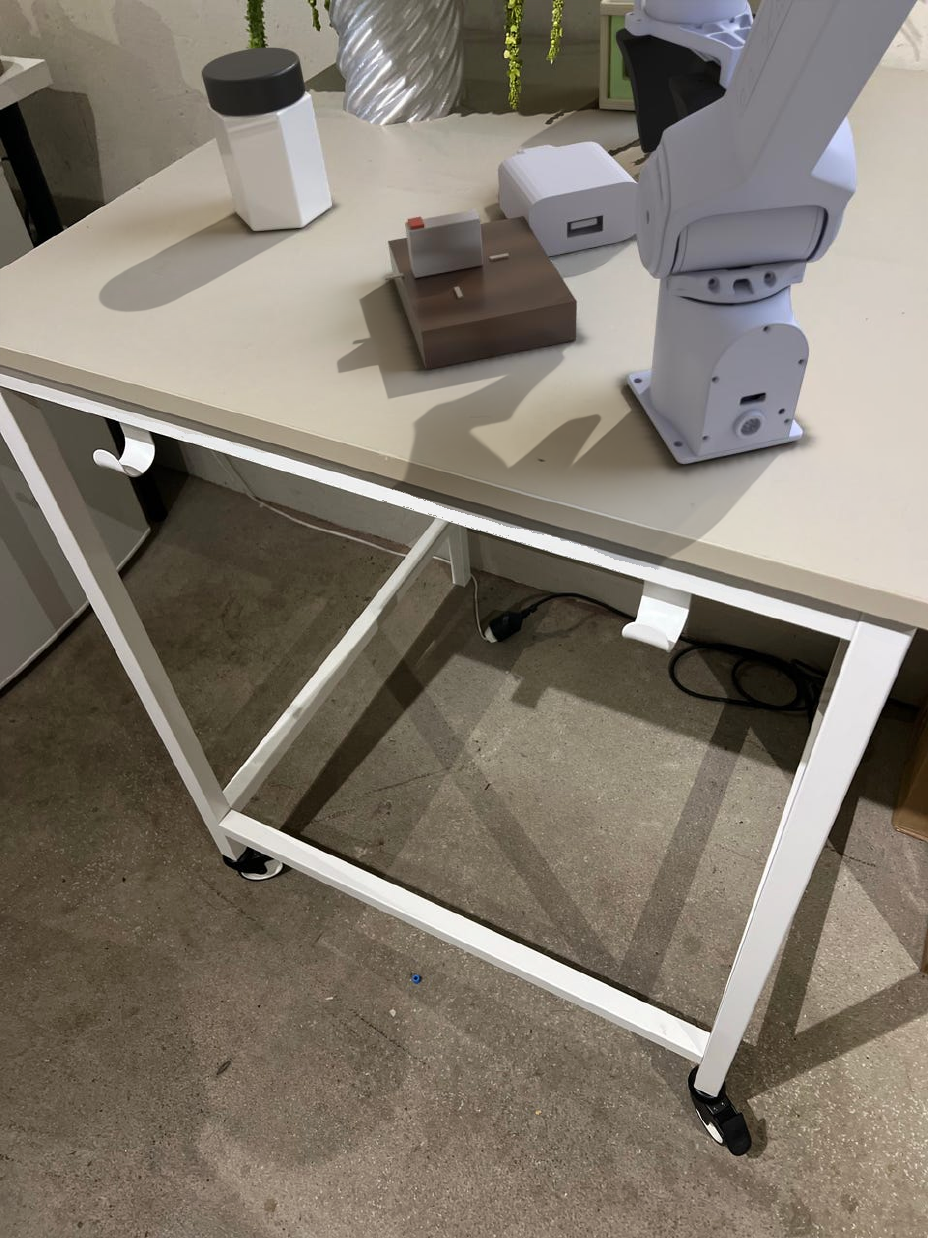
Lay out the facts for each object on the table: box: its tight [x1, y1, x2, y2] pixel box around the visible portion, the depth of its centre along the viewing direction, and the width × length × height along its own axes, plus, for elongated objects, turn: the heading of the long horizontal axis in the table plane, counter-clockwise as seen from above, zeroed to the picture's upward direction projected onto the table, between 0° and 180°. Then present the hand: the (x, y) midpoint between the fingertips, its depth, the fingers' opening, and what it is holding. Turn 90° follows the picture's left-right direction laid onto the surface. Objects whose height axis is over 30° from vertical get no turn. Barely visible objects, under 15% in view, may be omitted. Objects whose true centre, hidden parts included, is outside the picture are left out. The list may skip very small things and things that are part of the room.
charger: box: [497, 141, 638, 257], centre depth 74 cm, size 5×9×15 cm
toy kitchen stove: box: [598, 0, 635, 112], centre depth 85 cm, size 8×7×13 cm
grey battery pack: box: [404, 209, 483, 278], centre depth 63 cm, size 5×2×4 cm, turn 103°
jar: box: [201, 47, 333, 232], centre depth 75 cm, size 9×8×12 cm
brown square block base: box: [384, 216, 578, 370], centre depth 65 cm, size 14×12×3 cm
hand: (677, 171), depth 57 cm, fingers open, 7 cm apart
